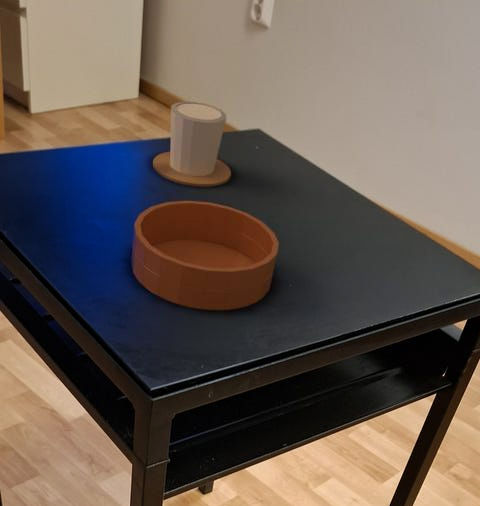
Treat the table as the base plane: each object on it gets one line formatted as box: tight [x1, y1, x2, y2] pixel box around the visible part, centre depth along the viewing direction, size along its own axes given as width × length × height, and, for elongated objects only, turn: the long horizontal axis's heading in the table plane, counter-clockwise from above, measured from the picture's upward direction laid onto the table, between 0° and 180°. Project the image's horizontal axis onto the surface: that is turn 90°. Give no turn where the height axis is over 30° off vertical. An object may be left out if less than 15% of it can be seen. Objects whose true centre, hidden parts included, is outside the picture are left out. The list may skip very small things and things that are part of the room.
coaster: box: [152, 151, 232, 188], centre depth 94 cm, size 10×10×1 cm
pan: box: [130, 200, 280, 311], centre depth 74 cm, size 14×14×4 cm
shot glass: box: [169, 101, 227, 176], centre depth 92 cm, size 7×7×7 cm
